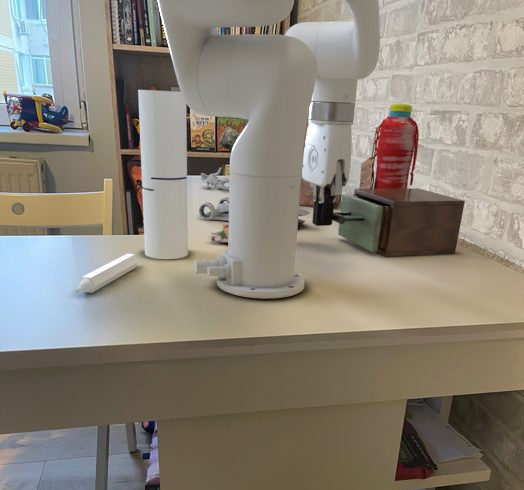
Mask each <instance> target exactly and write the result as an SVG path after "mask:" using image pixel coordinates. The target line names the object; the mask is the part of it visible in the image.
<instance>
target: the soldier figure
mask: <svg viewBox="0 0 524 490" xmlns="http://www.w3.org/2000/svg"><path fill="white" fill-rule="evenodd" d="M222 169H223V167H219V169H218V170H217V172H215V173H210V174H208V175H207V174H206V173H205V172H201V173H200V179H201V181H202V182H204V183H205V189H209V187H210V186H212V187H214V188H215V189H218V190H219V189H222V190H228V191H229V186H226V185H225V184H227V183H228V184H230V178H229V177H223V178H222V179H220V178H219V177H218V176H219V175H220V173H221V172H222Z"/></svg>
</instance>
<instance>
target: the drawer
mask: <svg viewBox="0 0 524 490" xmlns="http://www.w3.org/2000/svg"><path fill="white" fill-rule="evenodd" d="M377 204H385V203H382V202H379V201H376V200H374V199H371V198H368V197H365V196H355V197H354V195H351V194H348V193H342V197H341V203H340V211H333V220H332V222H335V223H337V224H338V233H337V234H338V236H340V237H342V238H344V239H347V241H350V242H352V243H354V244H356V245H358V246H360V247H362V248H364V249H366V250H368V251H370V252H376V251H377V250H378V246H379V247H381V248H386V241H387V233H388V226H389V219H390V211H391V206H385V214H384V221H383V229H382V237H381V239H379V235H380V227H381V219H382V212H383V206H380V205H377Z"/></svg>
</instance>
